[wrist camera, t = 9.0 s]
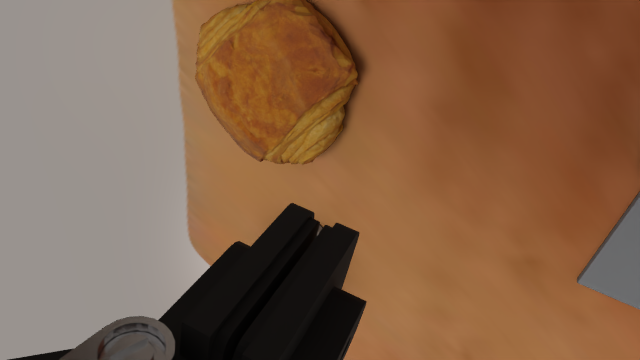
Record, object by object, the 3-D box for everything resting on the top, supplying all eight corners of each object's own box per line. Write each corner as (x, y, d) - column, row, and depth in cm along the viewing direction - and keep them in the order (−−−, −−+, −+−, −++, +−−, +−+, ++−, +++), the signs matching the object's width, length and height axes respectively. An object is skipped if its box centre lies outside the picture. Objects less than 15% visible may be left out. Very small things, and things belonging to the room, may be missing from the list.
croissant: (289, 158, 52) (257, 203, 46) (191, 38, 47) (141, 71, 41) (400, 97, 43) (378, 142, 37) (293, -56, 39) (249, -33, 33)
